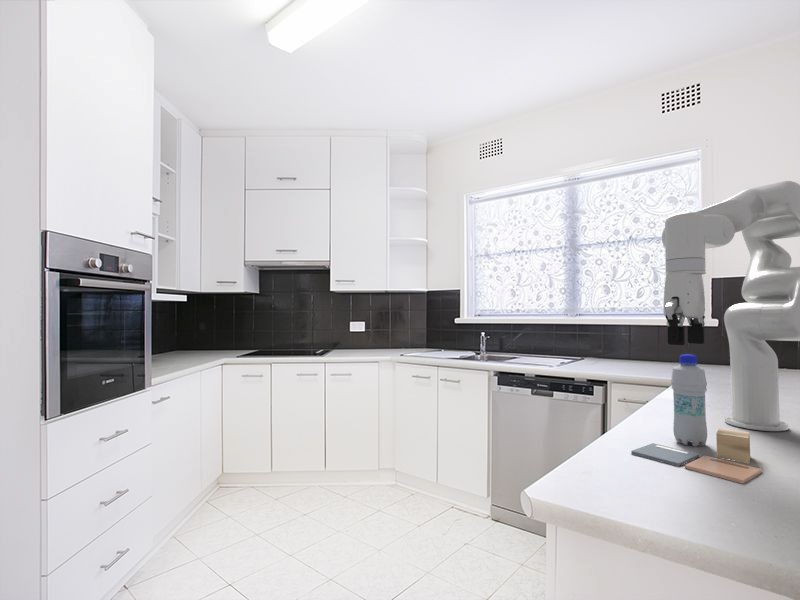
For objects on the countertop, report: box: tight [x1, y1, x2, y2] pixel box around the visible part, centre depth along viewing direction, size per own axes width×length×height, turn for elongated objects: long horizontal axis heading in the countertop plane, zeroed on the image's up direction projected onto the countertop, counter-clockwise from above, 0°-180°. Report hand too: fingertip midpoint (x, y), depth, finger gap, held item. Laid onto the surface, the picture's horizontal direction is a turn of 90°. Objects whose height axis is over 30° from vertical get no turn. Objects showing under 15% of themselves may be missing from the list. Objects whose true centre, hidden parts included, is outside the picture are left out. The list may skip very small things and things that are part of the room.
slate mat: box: [630, 442, 700, 467], centre depth 88 cm, size 9×9×1 cm
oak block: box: [716, 428, 751, 465], centre depth 86 cm, size 5×5×5 cm
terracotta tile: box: [684, 455, 763, 484], centre depth 79 cm, size 9×9×1 cm
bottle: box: [670, 353, 708, 447], centre depth 96 cm, size 7×7×20 cm
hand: (686, 344), depth 96 cm, fingers open, 9 cm apart
